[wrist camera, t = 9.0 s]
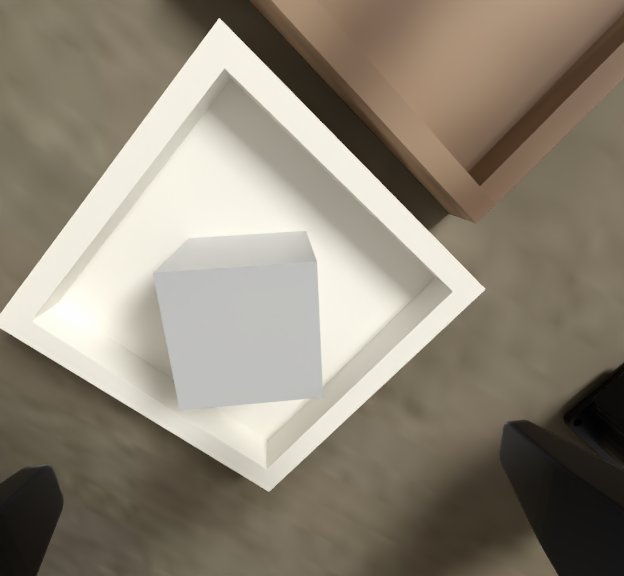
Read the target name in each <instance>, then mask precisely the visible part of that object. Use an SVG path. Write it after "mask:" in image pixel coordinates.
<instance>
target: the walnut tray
mask: <svg viewBox="0 0 624 576" xmlns="http://www.w3.org/2000/svg"><path fill="white" fill-rule="evenodd" d="M249 1H250V2H251V3H252V4H253V5H254V6H255V7H256V8H257V9H258V10H259V11H260V12H261V14H262V15H263V16H264V17H265V18H266V19H267V20H268V21H269V22H270V23H271V24H272V25H273V26H274V27H275V28H276V30H277V31H278V32H279V33H280V34H281V35H282V36H283V37H284V38H285V39H286V40H287V41H288V42H289V43H290V44H291V46H292V47H293V48H294V49H295V50H296V51H297V52H298V53H299V54H300V55H301V56H302V57H303V58H304V59H305V60H306V61H307V63H308V64H309V65H310V66H311V67H312V68H313V69H314V70H315V71H316V72H317V73H318V74H319V75H320V76H321V77H322V79H323V80H324V81H325V82H326V83H327V84H328V85H329V86H330V87H331V88H332V89H333V90H334V91H335V92H336V93H337V95H338V96H339V97H340V98H341V99H342V100H343V101H344V102H345V103H346V104H347V105H348V106H349V107H350V108H351V109H352V111H353V112H354V113H355V114H356V115H357V116H358V117H359V118H360V119H361V120H362V121H363V122H364V123H365V124H366V125H367V126H368V128H369V129H370V130H371V131H372V132H373V133H374V134H375V135H376V136H377V137H378V138H379V139H380V140H381V141H382V142H383V144H384V145H385V146H386V147H387V148H388V149H389V150H390V151H391V152H392V153H393V154H394V155H395V156H396V157H397V158H398V160H399V161H400V162H401V163H402V164H403V165H404V166H405V167H406V168H407V169H408V170H409V171H410V172H411V173H412V174H413V175H414V177H415V178H416V179H417V180H418V181H419V182H420V183H421V184H422V185H423V186H424V187H425V188H426V189H427V190H428V191H429V193H430V194H431V195H432V196H433V197H434V198H435V199H436V200H437V201H438V202H439V203H440V204H441V205H442V206H443V207H444V209H445V210H446V211H447V212H448V213H449V214H451V215H454V216H457V217H460V218H463V219H465V220H468V221H471V222H474V223H477V222H478V221H479V220H480V219H481V218H482V217H483V216H484V215H485V214H486V213H487V212H488V211H489V210H490V209H491V208H492V207H493V206H494V205H495V204H496V203H497V202H498V201H499V200H500V199H501V198H502V197H503V196H504V195H505V194H506V193H507V192H509V191H510V190H511V189H512V188H513V187H514V186H515V185H516V184H517V183H518V182H519V181H520V180H521V179H522V178H523V177H524V176H525V175H526V174H527V173H528V172H529V171H530V170H531V169H532V168H533V167H534V166H535V165H536V164H537V163H538V162H539V161H540V160H541V159H542V158H543V157H544V156H545V155H546V154H547V153H548V152H549V151H550V150H551V149H552V148H553V147H554V146H555V145H556V144H557V143H558V142H559V141H560V140H561V139H562V138H563V137H564V136H565V135H566V134H567V133H568V132H569V131H570V130H571V129H572V128H574V127H575V126H576V125H577V124H578V123H579V122H580V121H581V120H582V119H583V118H584V117H585V116H586V115H587V114H588V113H589V112H590V111H591V110H592V109H593V108H594V107H595V106H596V105H597V104H598V103H599V102H600V101H601V100H602V99H603V98H604V97H605V96H606V95H607V94H608V93H609V92H610V91H611V90H612V89H613V88H614V87H615V86H616V85H617V84H618V83H619V82H620V81H621V80H622V79H623V78H624V0H249Z"/></svg>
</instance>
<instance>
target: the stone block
mask: <svg viewBox="0 0 624 576" xmlns="http://www.w3.org/2000/svg"><path fill="white" fill-rule="evenodd" d="M153 277H154V282H155V287H156V292H157V297H158V302H159V307H160V312H161V318H162V323H163V328H164V333H165V338H166V343H167V348H168V353H169V358H170V363H171V368H172V373H173V379H174V384H175V389H176V394H177V399H178V404H179V409H180V410H190V409H201V408H212V407H223V406H234V405H245V404H256V403H267V402H278V401H289V400H300V399H311V398H322V397H323V385H322V362H321V340H320V317H319V294H318V272H317V260H316V257H315V255H314V252H313V249H312V246H311V243H310V241H309V238H308V235H307V232H306V231H295V232H279V233H263V234H247V235H232V236H216V237H200V238H189V239H188V240H186V241H185V242H184V243H183V244H182V245H181V246H180V247H179V248H178V249H177V250H176V251H175V252H174V253H173V254H172V255H171V256H170V257H169V258H168V259H167V260H166V261H165V262H164V263H162V264H161V265H160V266H159V267H158V268H157V269H156V270H155V271H154V272H153Z"/></svg>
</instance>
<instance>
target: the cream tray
mask: <svg viewBox="0 0 624 576" xmlns="http://www.w3.org/2000/svg"><path fill="white" fill-rule="evenodd" d="M295 231H306V232H307V235H308V238H309V241H310V243H311V246H312V249H313V252H314V255H315V257H316V260H317V272H318V294H319V317H320V340H321V362H322V385H323V397H322V398H311V399H300V400H289V401H278V402H267V403H256V404H245V405H234V406H223V407H212V408H201V409H190V410H180V409H179V404H178V399H177V394H176V389H175V384H174V379H173V373H172V368H171V363H170V358H169V353H168V348H167V343H166V338H165V333H164V328H163V323H162V318H161V312H160V307H159V302H158V297H157V292H156V287H155V282H154V277H153V272H154V271H155V270H156V269H157V268H158V267H159V266H160V265H161V264H162V263H164V262H165V261H166V260H167V259H168V258H169V257H170V256H171V255H172V254H173V253H174V252H175V251H176V250H177V249H178V248H179V247H180V246H181V245H182V244H183V243H184V242H185V241H186V240H188V239H189V238H200V237H216V236H232V235H247V234H263V233H279V232H295ZM484 290H485V288H484V287H483V286H482V285H481V284H480V283H479V282H478V281H477V280H476V279H475V278H474V277H473V276H472V275H471V274H470V273H469V272H468V271H467V270H466V269H465V268H464V267H463V266H462V265H461V264H460V263H459V262H458V261H457V260H456V259H455V258H454V257H453V256H452V255H451V254H450V253H449V252H448V251H447V249H446V248H445V247H444V246H443V245H442V244H441V243H440V242H439V241H438V240H437V239H436V238H435V237H434V236H433V235H432V234H431V233H430V232H429V231H428V230H427V229H426V228H425V227H424V226H423V225H422V224H421V223H420V222H419V221H418V220H417V219H416V218H415V217H414V216H413V215H412V214H411V213H410V212H409V211H408V210H407V209H406V208H405V207H404V206H403V205H402V204H401V203H400V202H399V201H398V200H397V199H396V197H395V196H394V195H393V194H392V193H391V192H390V191H389V190H388V189H387V188H386V187H385V186H384V185H383V184H382V183H381V182H380V181H379V180H378V179H377V178H376V177H375V176H374V175H373V174H372V173H371V172H370V171H369V170H368V169H367V168H366V167H365V166H364V165H363V164H362V163H361V162H360V161H359V160H358V159H357V158H356V157H355V156H354V155H353V154H352V153H351V152H350V151H349V150H348V149H347V148H346V146H345V145H344V144H343V143H342V142H341V141H340V140H339V139H338V138H337V137H336V136H335V135H334V134H333V133H332V132H331V131H330V130H329V129H328V128H327V127H326V126H325V125H324V124H323V123H322V122H321V121H320V120H319V119H318V118H317V117H316V116H315V115H314V114H313V113H312V112H311V111H310V110H309V109H308V108H307V107H306V106H305V105H304V104H303V103H302V102H301V101H300V100H299V99H298V98H297V97H296V96H295V94H294V93H293V92H292V91H291V90H290V89H289V88H288V87H287V86H286V85H285V84H284V83H283V82H282V81H281V80H280V79H279V78H278V77H277V76H276V75H275V74H274V73H273V72H272V71H271V70H270V69H269V68H268V67H267V66H266V65H265V64H264V63H263V62H262V61H261V60H260V59H259V58H258V57H257V56H256V55H255V54H254V53H253V52H252V51H251V50H250V49H249V48H248V47H247V46H246V45H245V44H244V42H243V41H242V40H241V39H240V38H239V37H238V36H237V35H236V34H235V33H234V32H233V31H232V30H231V29H230V28H229V27H228V26H227V25H226V24H225V23H224V22H223V21H222V20H221V19H220V18H219V19H218V20H217V22H216V23H215V24H214V26H213V27H212V28H211V30H210V31H209V32H208V34H207V35H206V37H205V38H204V39H203V41H202V42H201V43H200V45H199V46H198V47H197V49H196V50H195V51H194V53H193V54H192V55H191V57H190V58H189V59H188V61H187V62H186V64H185V65H184V66H183V68H182V69H181V70H180V72H179V73H178V74H177V76H176V77H175V78H174V80H173V81H172V82H171V84H170V85H169V87H168V88H167V89H166V91H165V92H164V93H163V95H162V96H161V97H160V99H159V100H158V101H157V103H156V104H155V105H154V107H153V108H152V109H151V111H150V112H149V114H148V115H147V116H146V118H145V119H144V120H143V122H142V123H141V124H140V126H139V127H138V128H137V130H136V131H135V132H134V134H133V135H132V137H131V138H130V139H129V141H128V142H127V143H126V145H125V146H124V147H123V149H122V150H121V151H120V153H119V154H118V155H117V157H116V158H115V160H114V161H113V162H112V164H111V165H110V166H109V168H108V169H107V170H106V172H105V173H104V174H103V176H102V177H101V178H100V180H99V181H98V182H97V184H96V185H95V187H94V188H93V189H92V191H91V192H90V193H89V195H88V196H87V197H86V199H85V200H84V201H83V203H82V204H81V205H80V207H79V208H78V210H77V211H76V212H75V214H74V215H73V216H72V218H71V219H70V220H69V222H68V223H67V224H66V226H65V227H64V228H63V230H62V231H61V233H60V234H59V235H58V237H57V238H56V239H55V241H54V242H53V243H52V245H51V246H50V247H49V249H48V250H47V251H46V253H45V254H44V255H43V257H42V258H41V260H40V261H39V262H38V264H37V265H36V266H35V268H34V269H33V270H32V272H31V273H30V274H29V276H28V277H27V278H26V280H25V281H24V283H23V284H22V285H21V287H20V288H19V289H18V291H17V292H16V293H15V295H14V296H13V297H12V299H11V300H10V301H9V303H8V304H7V306H6V307H5V308H4V310H3V311H2V312H1V314H0V328H1V329H2V330H4V331H6V332H7V333H9V334H11V335H12V336H14V337H16V338H17V339H19V340H20V341H22V342H24V343H25V344H27V345H29V346H30V347H32V348H34V349H35V350H37V351H39V352H40V353H42V354H43V355H45V356H47V357H48V358H50V359H52V360H53V361H55V362H57V363H58V364H60V365H62V366H63V367H65V368H66V369H68V370H70V371H71V372H73V373H75V374H76V375H78V376H80V377H81V378H83V379H85V380H86V381H88V382H89V383H91V384H93V385H94V386H96V387H98V388H99V389H101V390H103V391H104V392H106V393H108V394H109V395H111V396H112V397H114V398H116V399H117V400H119V401H121V402H122V403H124V404H126V405H127V406H129V407H131V408H132V409H134V410H135V411H137V412H139V413H140V414H142V415H144V416H145V417H147V418H149V419H150V420H152V421H154V422H155V423H157V424H158V425H160V426H162V427H163V428H165V429H167V430H168V431H170V432H172V433H173V434H175V435H177V436H178V437H180V438H181V439H183V440H185V441H186V442H188V443H190V444H191V445H193V446H195V447H196V448H198V449H199V450H201V451H203V452H204V453H206V454H208V455H209V456H211V457H213V458H214V459H216V460H218V461H219V462H221V463H222V464H224V465H226V466H227V467H229V468H231V469H232V470H234V471H236V472H237V473H239V474H241V475H242V476H244V477H245V478H247V479H249V480H250V481H252V482H254V483H255V484H257V485H259V486H260V487H262V488H264V489H265V490H267V491H268V492H269V491H270V490H271V489H272V488H274V487H275V486H276V485H277V484H278V483H279V482H280V481H281V480H282V479H283V478H284V477H285V476H286V475H287V474H289V473H290V472H291V471H292V470H293V469H294V468H295V467H296V466H297V465H298V464H299V463H300V462H301V461H302V460H303V459H305V458H306V457H307V456H308V455H309V454H310V453H311V452H312V451H313V450H314V449H315V448H316V447H317V446H318V445H320V444H321V443H322V442H323V441H324V440H325V439H326V438H327V437H328V436H329V435H330V434H331V433H332V432H333V431H334V430H336V429H337V428H338V427H339V426H340V425H341V424H342V423H343V422H344V421H345V420H346V419H347V418H348V417H349V416H351V415H352V414H353V413H354V412H355V411H356V410H357V409H358V408H359V407H360V406H361V405H362V404H363V403H364V402H365V401H367V400H368V399H369V398H370V397H371V396H372V395H373V394H374V393H375V392H376V391H377V390H378V389H379V388H380V387H382V386H383V385H384V384H385V383H386V382H387V381H388V380H389V379H390V378H391V377H392V376H393V375H394V374H395V373H396V372H398V371H399V370H400V369H401V368H402V367H403V366H404V365H405V364H406V363H407V362H408V361H409V360H410V359H411V358H413V357H414V356H415V355H416V354H417V353H418V352H419V351H420V350H421V349H422V348H423V347H424V346H425V345H426V344H428V343H429V342H430V341H431V340H432V339H433V338H434V337H435V336H436V335H437V334H438V333H439V332H440V331H441V330H442V329H444V328H445V327H446V326H447V325H448V324H449V323H450V322H451V321H452V320H453V319H454V318H455V317H456V316H457V315H459V314H460V313H461V312H462V311H463V310H464V309H465V308H466V307H467V306H468V305H469V304H470V303H471V302H472V301H473V300H475V299H476V298H477V297H478V296H479V295H480V294H481V293H482V292H483V291H484Z"/></svg>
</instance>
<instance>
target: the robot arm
mask: <svg viewBox="0 0 624 576" xmlns="http://www.w3.org/2000/svg"><path fill="white" fill-rule="evenodd" d="M564 422H565V424H566V425H568V426H569V427H570V428H571V429H572V430H573V431H574V432H575V433H576V434H577V435H578V436H579V437H580V438H581V439H582V440H583V441H584V442H585V443H587V444H588V445H589V446H590V447H591V448H592V449H593V450H594V451H595V452H596V453H597V454H598V455H599V456H600V457H601V458H602V459H601V458H599V457H597V456H595V455H594V454H592V453H590V452H588V451H586V450H584V449H582V448H580V447H578V446H576V445H574V444H572V443H570V442H568V441H566V440H565V439H563V438H561V437H559V436H557V435H555V434H553V433H551V432H549V431H547V430H545V429H543V428H541V427H539V426H537V425H536V424H534V423H532V422H530V421H527V420H516V421H508V422H506V423H505V425H504V428H503V434H502V441H501V447H500V460H501V463H502V466H503V468H504V470H505V473H506V475H507V477H508V479H509V481H510V483H511V485H512V487H513V489H514V491H515V493H516V496H517V498H518V500H519V502H520V504H521V506H522V508H523V510H524V512H525V514H526V516H527V519H528V521H529V523H530V525H531V527H532V529H533V531H534V533H535V535H536V537H537V539H538V541H539V543H540V544H541V546H542V548H543V550H544V552H545V553H546V555H547V557H548V558H549V560H550V562H551V564H552V565H553V567H554V569H555V570H556V572H557V574H558V575H559V576H624V368H623V369H622V370H621V371H620V372H618V373H617V374H616V375H615V376H613V377H612V378H611V379H610V380H608V381H607V382H606V383H605V384H603V385H602V386H601V387H600V388H599V389H597V390H596V391H595V392H594V393H592V394H591V395H590V396H589V397H587V398H586V399H585V400H584V401H582V402H581V403H580V404H579V405H578V406H576V407H575V408H574V409H573V410H571V411H570V412H569V413H568V414H567V415H566V416H565V418H564ZM63 501H64V500H63V494H62V491H61V488H60V485H59V482H58V479H57V476H56V474H55V471H54V469H53V467H52V466H50V465H47V464H45V465H34V466H28V467H25V468H23V469H21V470H20V471H18V472H17V473H15V474H14V475H12V476H11V477H9V478H8V479H6V480H5V481H3V482H2V483H0V576H37V574H38V571H39V568H40V566H41V563H42V561H43V558H44V555H45V553H46V550H47V548H48V545H49V542H50V540H51V537H52V535H53V532H54V529H55V527H56V524H57V522H58V519H59V516H60V514H61V511H62V508H63Z"/></svg>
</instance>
